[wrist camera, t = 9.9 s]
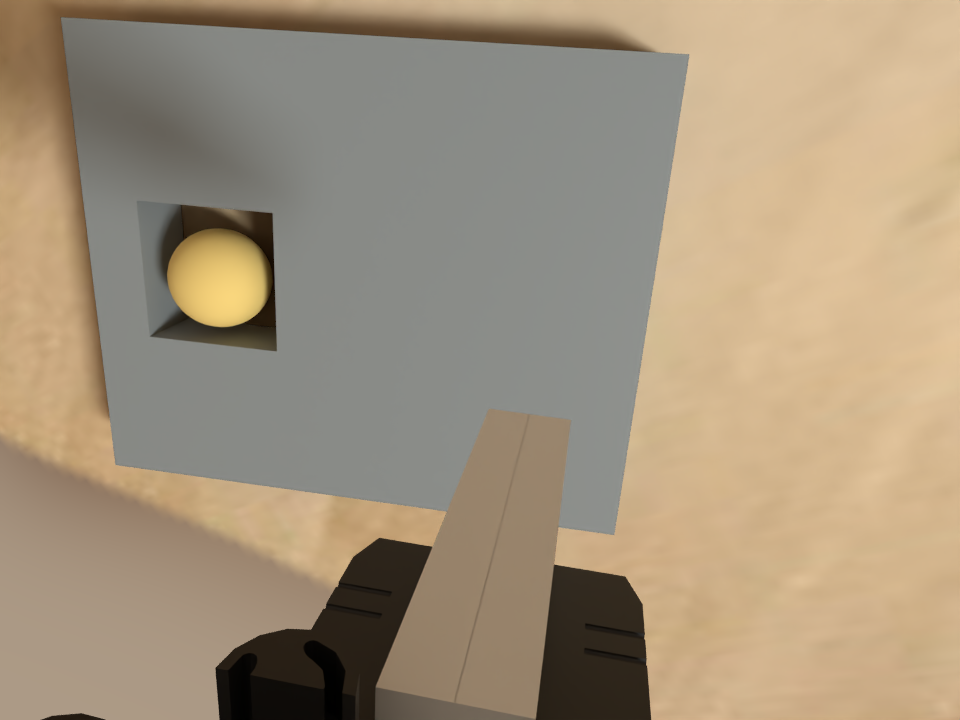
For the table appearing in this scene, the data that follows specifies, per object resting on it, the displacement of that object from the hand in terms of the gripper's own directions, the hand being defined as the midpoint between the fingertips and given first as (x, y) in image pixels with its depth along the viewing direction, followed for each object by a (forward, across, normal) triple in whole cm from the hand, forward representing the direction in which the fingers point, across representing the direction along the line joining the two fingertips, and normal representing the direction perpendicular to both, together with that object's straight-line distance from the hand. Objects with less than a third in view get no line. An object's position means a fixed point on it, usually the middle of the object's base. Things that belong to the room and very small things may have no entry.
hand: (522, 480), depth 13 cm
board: (+16, -8, 0) cm, 18 cm away
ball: (+15, -12, -1) cm, 19 cm away
